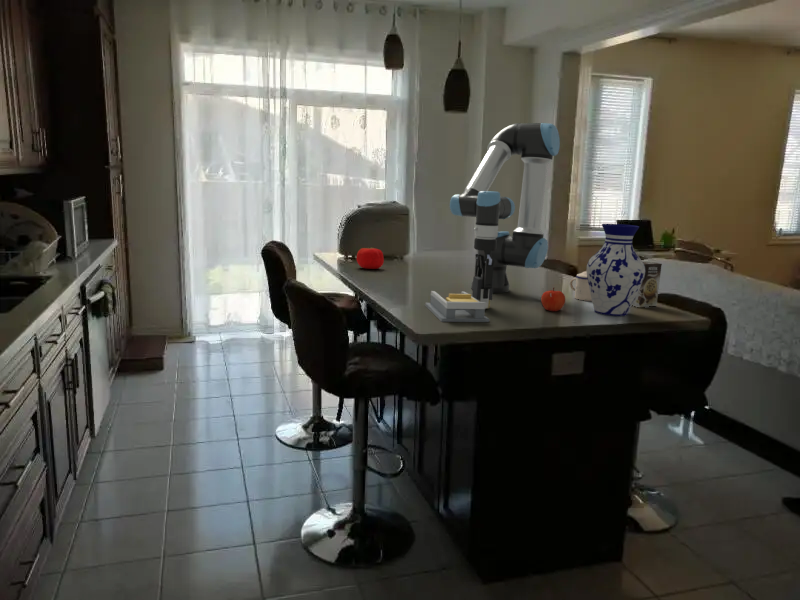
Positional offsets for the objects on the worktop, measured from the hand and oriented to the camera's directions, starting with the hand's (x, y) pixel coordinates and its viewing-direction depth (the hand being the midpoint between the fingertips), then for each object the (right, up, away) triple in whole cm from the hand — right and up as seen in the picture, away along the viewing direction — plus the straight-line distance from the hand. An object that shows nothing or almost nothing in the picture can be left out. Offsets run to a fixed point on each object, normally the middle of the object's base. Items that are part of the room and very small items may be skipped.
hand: (481, 305), depth 218 cm
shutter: (-8, +1, -19) cm, 21 cm away
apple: (+25, -2, +1) cm, 25 cm away
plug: (0, 0, 0) cm, 0 cm away
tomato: (-42, +16, +80) cm, 92 cm away
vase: (+45, -3, +2) cm, 45 cm away
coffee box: (+61, 0, +18) cm, 64 cm away
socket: (-10, -2, -11) cm, 15 cm away
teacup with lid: (+42, +2, +27) cm, 50 cm away
